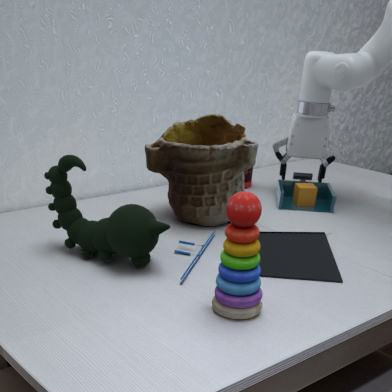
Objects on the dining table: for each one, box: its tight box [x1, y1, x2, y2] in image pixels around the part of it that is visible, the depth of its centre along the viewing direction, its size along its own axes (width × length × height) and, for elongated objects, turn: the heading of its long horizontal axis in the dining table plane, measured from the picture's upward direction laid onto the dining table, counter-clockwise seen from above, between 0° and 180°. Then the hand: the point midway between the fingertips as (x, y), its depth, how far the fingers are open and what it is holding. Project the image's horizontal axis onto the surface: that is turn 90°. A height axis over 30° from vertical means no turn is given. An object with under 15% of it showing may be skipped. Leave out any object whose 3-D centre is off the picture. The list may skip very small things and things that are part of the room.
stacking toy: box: [211, 190, 263, 320], centre depth 75 cm, size 8×8×19 cm
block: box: [293, 183, 318, 206], centre depth 126 cm, size 4×4×4 cm
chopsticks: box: [174, 229, 216, 286], centre depth 97 cm, size 1×25×5 cm
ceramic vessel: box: [144, 113, 260, 227], centre depth 111 cm, size 23×24×25 cm
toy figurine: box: [43, 154, 171, 269], centre depth 90 cm, size 9×19×25 cm
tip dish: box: [275, 171, 337, 214], centre depth 128 cm, size 13×16×6 cm
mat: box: [257, 230, 344, 283], centre depth 105 cm, size 18×34×1 cm, turn 175°
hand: (301, 180), depth 133 cm, fingers open, 9 cm apart
